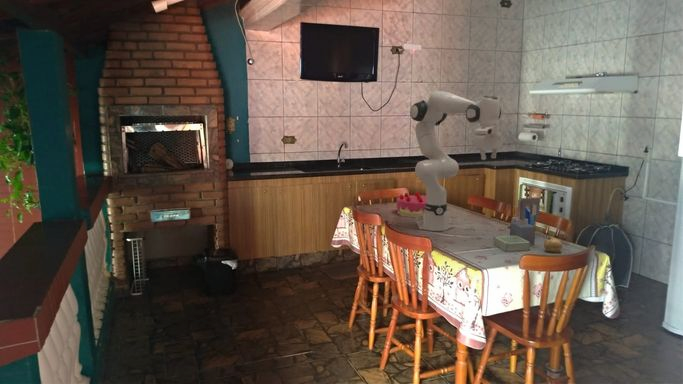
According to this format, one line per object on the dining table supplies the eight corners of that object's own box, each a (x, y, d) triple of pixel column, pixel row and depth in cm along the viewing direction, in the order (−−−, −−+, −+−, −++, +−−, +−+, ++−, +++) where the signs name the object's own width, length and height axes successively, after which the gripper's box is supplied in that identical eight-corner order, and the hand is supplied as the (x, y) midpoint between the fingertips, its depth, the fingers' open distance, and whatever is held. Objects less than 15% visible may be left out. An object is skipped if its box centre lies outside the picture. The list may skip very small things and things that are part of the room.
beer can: (513, 235, 270) (515, 205, 268) (525, 233, 274) (527, 204, 271) (525, 238, 263) (527, 208, 260) (537, 236, 266) (539, 206, 264)
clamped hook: (516, 224, 259) (518, 199, 257) (520, 224, 260) (521, 199, 257) (531, 231, 246) (532, 204, 243) (534, 231, 246) (536, 204, 244)
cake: (395, 209, 339) (395, 190, 337) (437, 209, 338) (437, 190, 336) (398, 218, 312) (398, 198, 310) (444, 218, 311) (444, 198, 309)
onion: (557, 249, 244) (558, 234, 243) (564, 253, 237) (566, 239, 235) (540, 249, 244) (541, 234, 243) (548, 254, 236) (549, 239, 235)
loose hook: (519, 219, 249) (520, 198, 247) (536, 218, 251) (538, 197, 249) (521, 220, 247) (522, 198, 245) (538, 219, 249) (540, 198, 247)
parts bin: (493, 244, 252) (494, 236, 252) (516, 243, 254) (516, 235, 254) (506, 251, 240) (506, 243, 239) (529, 250, 242) (530, 242, 241)
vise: (507, 238, 264) (508, 216, 262) (521, 237, 265) (522, 216, 263) (520, 245, 250) (521, 222, 248) (535, 244, 252) (536, 222, 250)
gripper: (494, 129, 254) (493, 157, 256) (472, 130, 239) (472, 160, 241) (505, 129, 249) (505, 157, 251) (484, 130, 235) (484, 160, 237)
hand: (488, 158), depth 246 cm, fingers open, 8 cm apart
